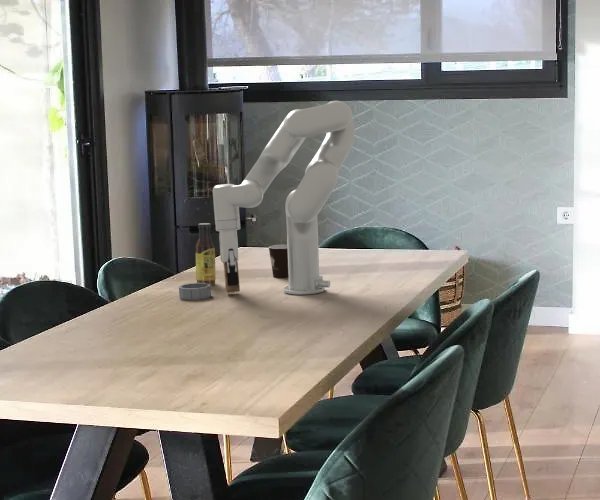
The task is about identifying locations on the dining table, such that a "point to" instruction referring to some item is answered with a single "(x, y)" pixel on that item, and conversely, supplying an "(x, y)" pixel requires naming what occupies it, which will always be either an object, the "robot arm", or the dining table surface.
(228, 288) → the brown cylinder
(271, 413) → the dining table surface
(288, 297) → the dining table surface
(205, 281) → the sauce bottle
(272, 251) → the coffee mug
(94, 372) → the dining table surface
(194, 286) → the grey faceted dish
